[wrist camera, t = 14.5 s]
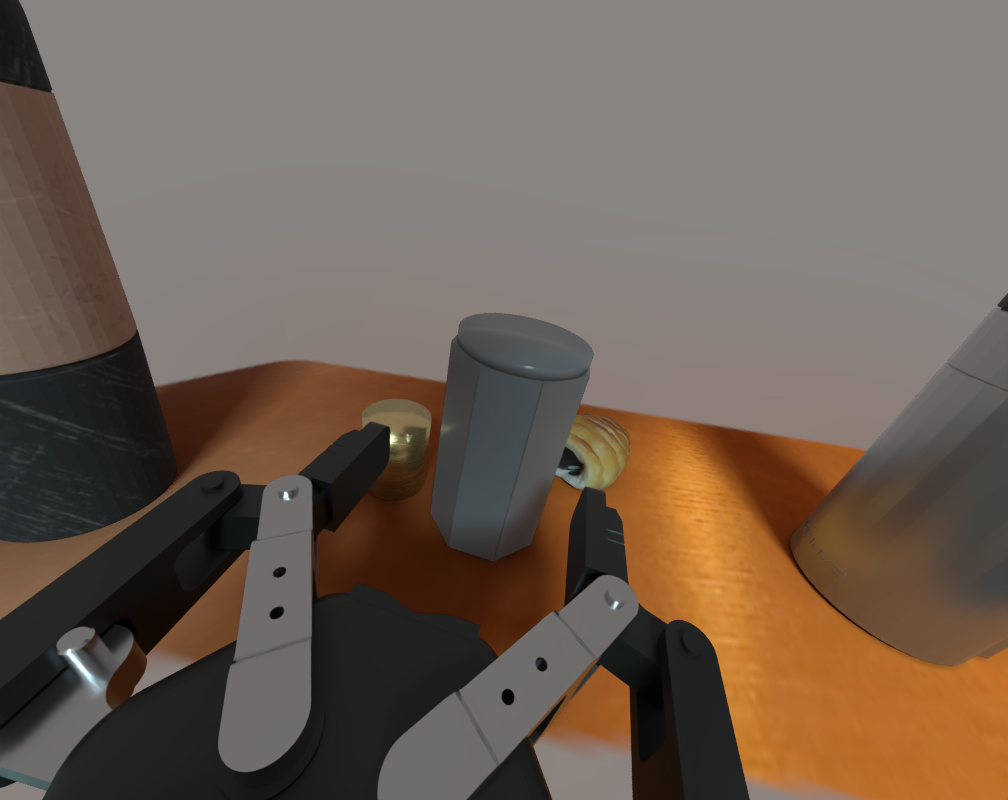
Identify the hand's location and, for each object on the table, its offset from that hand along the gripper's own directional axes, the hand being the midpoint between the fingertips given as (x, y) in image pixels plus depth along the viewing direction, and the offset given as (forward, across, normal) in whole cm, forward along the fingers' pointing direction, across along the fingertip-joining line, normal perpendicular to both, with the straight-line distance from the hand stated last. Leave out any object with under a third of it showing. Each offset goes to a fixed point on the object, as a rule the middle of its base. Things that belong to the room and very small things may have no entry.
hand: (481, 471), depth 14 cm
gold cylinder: (+6, +6, +8) cm, 12 cm away
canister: (+5, 0, +8) cm, 10 cm away
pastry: (+14, -6, +8) cm, 17 cm away
